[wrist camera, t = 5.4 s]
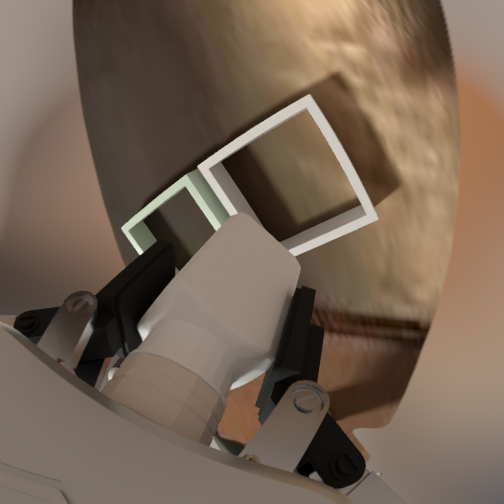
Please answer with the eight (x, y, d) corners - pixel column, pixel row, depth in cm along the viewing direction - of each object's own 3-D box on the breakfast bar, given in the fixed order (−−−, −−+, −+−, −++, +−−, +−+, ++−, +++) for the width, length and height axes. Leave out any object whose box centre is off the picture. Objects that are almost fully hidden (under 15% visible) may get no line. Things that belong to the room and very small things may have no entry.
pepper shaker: (197, 255, 14) (76, 399, 6) (243, 202, 12) (93, 370, 4) (254, 304, 15) (177, 468, 7) (307, 261, 13) (250, 469, 5)
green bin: (261, 258, 30) (254, 273, 28) (188, 290, 36) (178, 304, 33) (200, 167, 27) (186, 174, 25) (135, 218, 33) (120, 228, 30)
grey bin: (374, 207, 24) (378, 219, 22) (272, 253, 30) (265, 268, 27) (312, 96, 21) (309, 94, 18) (210, 159, 26) (197, 166, 24)
